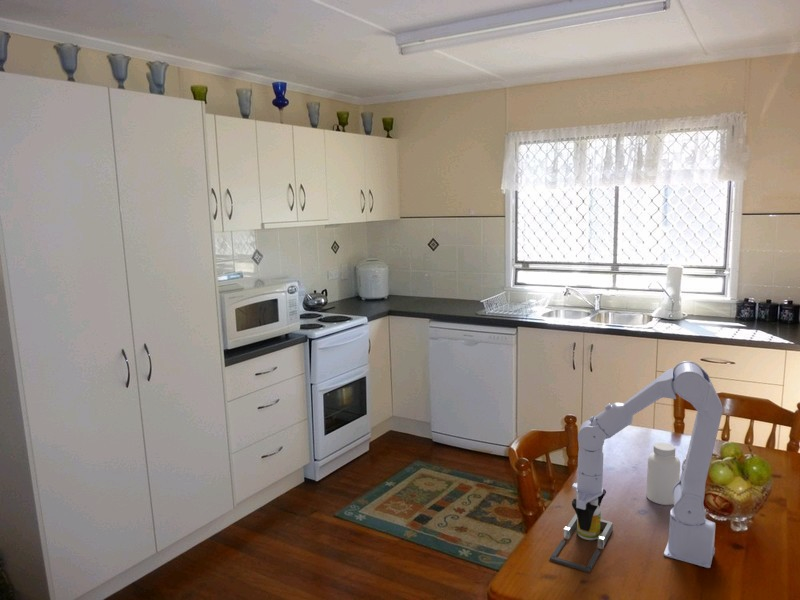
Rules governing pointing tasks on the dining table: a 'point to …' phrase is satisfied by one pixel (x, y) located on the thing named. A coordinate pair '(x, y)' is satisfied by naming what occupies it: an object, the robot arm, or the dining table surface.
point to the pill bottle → (662, 474)
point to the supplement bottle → (592, 524)
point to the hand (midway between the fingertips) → (588, 523)
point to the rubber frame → (572, 564)
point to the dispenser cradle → (604, 525)
